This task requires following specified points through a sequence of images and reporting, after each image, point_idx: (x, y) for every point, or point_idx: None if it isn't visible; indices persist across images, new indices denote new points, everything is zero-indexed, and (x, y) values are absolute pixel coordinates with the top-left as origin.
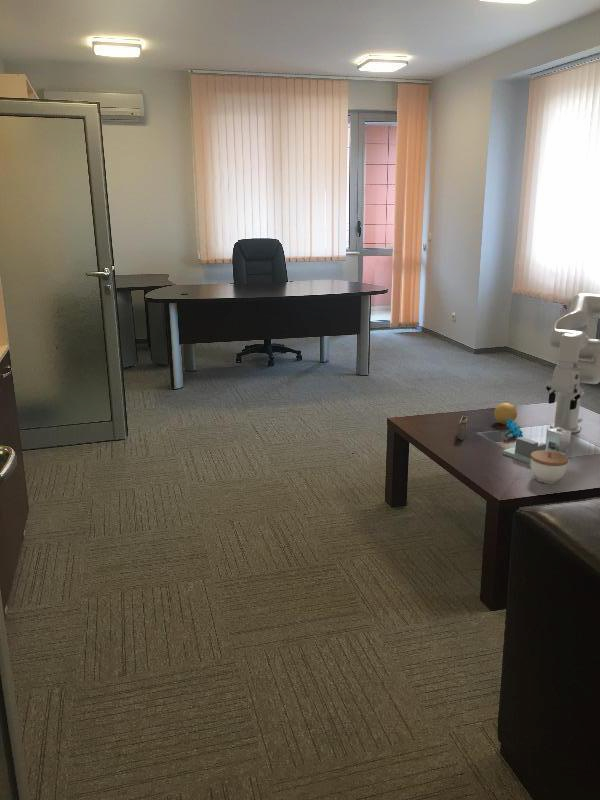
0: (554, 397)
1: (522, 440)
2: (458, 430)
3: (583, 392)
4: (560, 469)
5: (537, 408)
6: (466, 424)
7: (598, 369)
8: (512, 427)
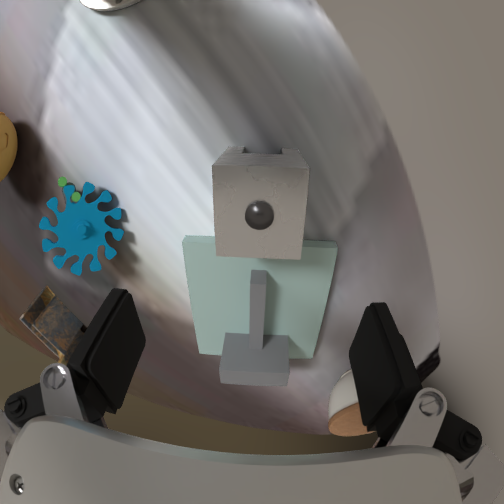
0: (110, 342)
1: (244, 384)
2: None
3: (492, 474)
4: None
5: None
6: (53, 331)
7: None
8: (81, 248)
